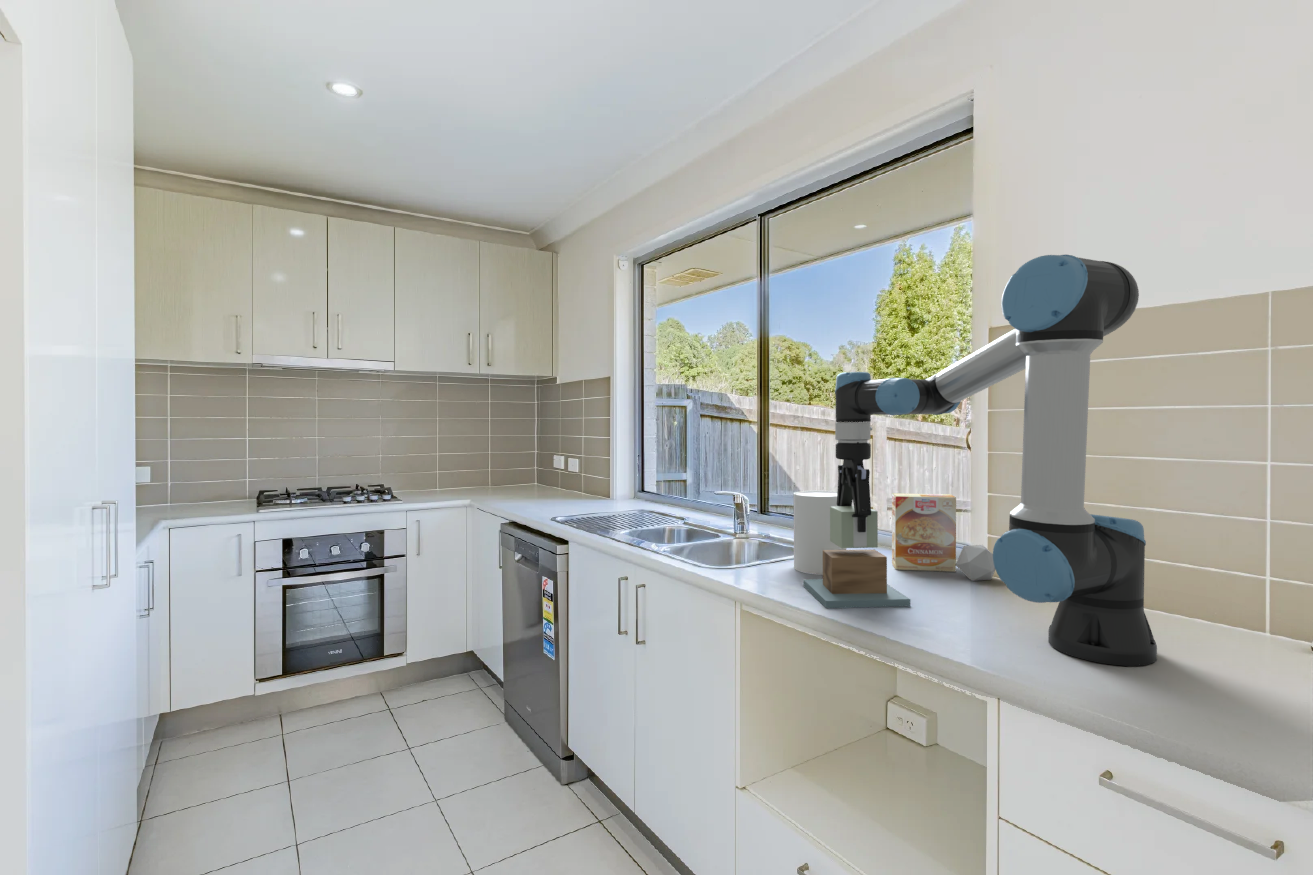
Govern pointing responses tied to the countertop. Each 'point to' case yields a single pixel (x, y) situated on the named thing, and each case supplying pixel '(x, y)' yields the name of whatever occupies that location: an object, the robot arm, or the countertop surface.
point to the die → (976, 562)
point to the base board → (854, 597)
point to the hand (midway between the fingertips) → (853, 542)
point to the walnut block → (854, 571)
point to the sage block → (851, 527)
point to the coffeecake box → (924, 532)
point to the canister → (812, 529)
